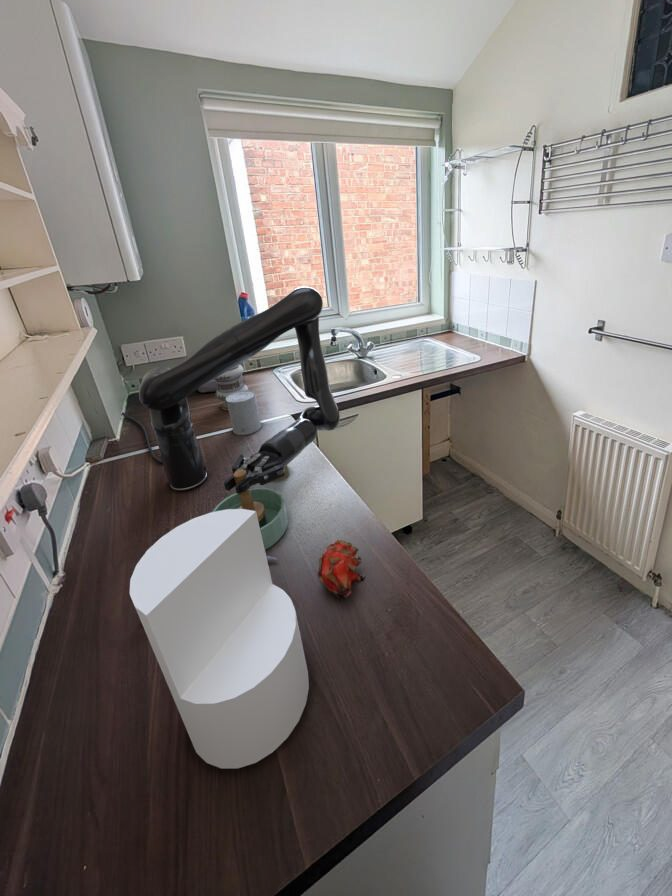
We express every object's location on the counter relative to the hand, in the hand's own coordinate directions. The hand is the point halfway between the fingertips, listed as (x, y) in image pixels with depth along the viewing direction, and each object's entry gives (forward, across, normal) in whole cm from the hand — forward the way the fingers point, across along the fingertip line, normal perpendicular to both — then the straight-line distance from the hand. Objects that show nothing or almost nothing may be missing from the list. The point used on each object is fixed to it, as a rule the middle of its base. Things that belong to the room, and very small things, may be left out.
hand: (231, 488), depth 86 cm
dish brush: (-3, 0, +13) cm, 13 cm away
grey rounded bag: (-66, -78, +14) cm, 103 cm away
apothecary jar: (-54, -57, +14) cm, 80 cm away
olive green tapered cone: (-23, -9, +14) cm, 28 cm away
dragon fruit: (+1, +27, +14) cm, 30 cm away
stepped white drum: (+24, +25, +14) cm, 37 cm away
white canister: (-41, -38, +14) cm, 58 cm away
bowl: (-3, 0, +14) cm, 14 cm away
